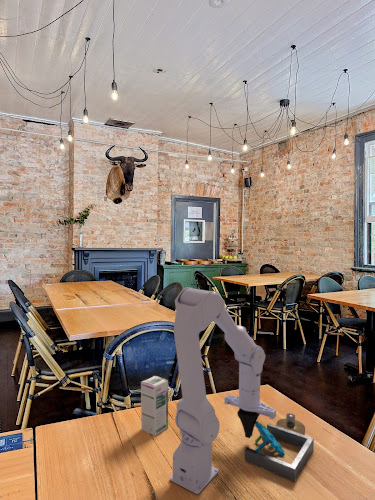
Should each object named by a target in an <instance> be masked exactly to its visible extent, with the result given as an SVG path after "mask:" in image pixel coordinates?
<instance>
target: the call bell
mask: <svg viewBox="0 0 375 500" xmlns="http://www.w3.org/2000/svg"><path fill="white" fill-rule="evenodd" d="M285 416H286V418H280V419H278V420H277V421H276V423H275V424H276V426H279V427H282V428H285V429H288V430H291V431H294V432H297V433H300V434H303V435H306V426H305V425H304V424H303V423H302V422H301V421H300V420H297V419H296V415H295V414H293V413H290V412H289V413H286V415H285Z"/></svg>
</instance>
